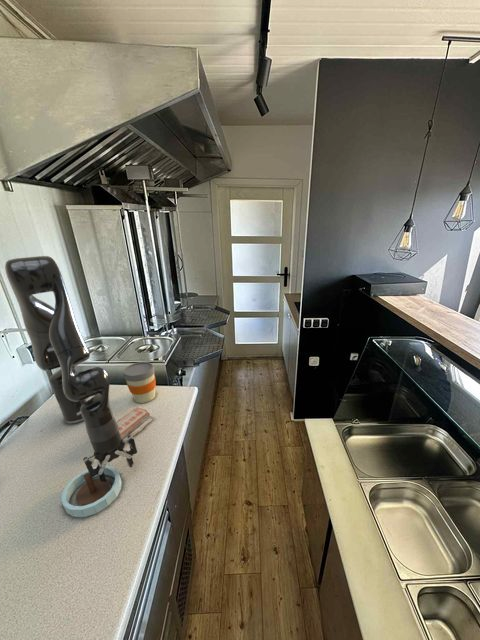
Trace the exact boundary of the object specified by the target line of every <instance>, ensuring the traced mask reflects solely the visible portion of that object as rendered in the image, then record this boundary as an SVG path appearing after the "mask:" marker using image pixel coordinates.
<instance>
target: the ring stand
mask: <svg viewBox="0 0 480 640" xmlns="http://www.w3.org/2000/svg"><path fill="white" fill-rule="evenodd" d="M84 479H85V482H84V483H83V484H82V486H81V487H79V489H78V490H77V492H76V494H75V500H76V502H77V504H78V506H85V505H88V504H91V503H94V502H96V501H97V500H99V499H101V498H102V497H104V496H105V495H106V494H107V493H108V492H109V491H110V490H111V488H112V486H111V484H110V483H111V482H110V481H109V480H108V479H107V481H106V482H104V481H103V482H102V481H101V480H100V478H99V477H97V478H96V477H95V478H92V477H91V475H90V473H87V474H85V475H84Z"/></svg>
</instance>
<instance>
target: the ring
mask: <svg viewBox="0 0 480 640" xmlns="http://www.w3.org/2000/svg"><path fill="white" fill-rule="evenodd" d="M92 467H93V469H96V467H97V465H96V466H92ZM103 472H104V474H105V476H110V477H112V478H114V482H113V484H112V486H111V488H110V491H109V492H108V493H107V494H106V495H105V496H104V497H102V498H101V499H99V500H97V501H96V502H94V503H91V504H88V505H85V506H80V505H73V504H71V503H70V501H71V497H72V495H73V494H74V493H75V492H76V490H77V489H78V488H80V486H81V485H83V484H85V483H86V482H85V479H84V475H85V474H87V473H89V471H88V469H87V468H86V469H85V470H83V471H82V472H79V473H78V474H77V475H75V476H74V477H73V478H72V479H70V481H69V482H68V483H67V485H66V486H65V487H64V489H63V490H62V494H61V497H60V500H61V503H62V506H63V508H64V510H65V512H66V514H67V515H69V516H72V517H74V518H87V517H89V516H92V515H95V514H98V513H100V512H101V511H103V510H105V509H106V508H108V507H109V506H110V505H111V504H112V503H113V502H114V501H115V500H116V499H117V498H118V495H119V494H120V492H121V490H122V479H121V474H120V472H119V471H118V469H117V468H115V467H113V466H111V465H106V467H105V468H104V471H103ZM96 477H97V478H98V477H99V476H98V475H95V476H94V477H92V479H94V478H96Z"/></svg>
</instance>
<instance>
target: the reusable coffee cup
mask: <svg viewBox="0 0 480 640" xmlns="http://www.w3.org/2000/svg"><path fill="white" fill-rule="evenodd" d="M155 370H156V369H155V368H154V365H153V364H152V363H151V362H148V361H139V362H134V363H131V364H129V365H127V366H126V367H125V368H124V369H123V377H124V380H125V381H126V383H125V384H126V387H127V389H128V390H129V393H131V394H132V397H133V399H134V401H135V403H139V404H142V403H143V404H144V403H148V402H151V401H152V400H153V399H155V397H156V386H157V385H156V383H157V382H156V381H157V380H156V376H155Z"/></svg>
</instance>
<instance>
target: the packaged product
mask: <svg viewBox="0 0 480 640" xmlns="http://www.w3.org/2000/svg"><path fill="white" fill-rule="evenodd" d="M150 414H151V413H150V412H149V411H148V410H147V409H144V408H142V407H139V406H136V407H135V408H134V409H133V410H131V411H129V412H128V413H126V414H125V415H124V416H123V417H121V418H120V419H119V420H117V421H116V423H117V425H118V429H119V432H120V436H121V439H122V440H125V439H127V437H128V436H129V435H131V436H132V437H134V436H135V435H137V434H138V433H139V432H141V431H142V430H143V429H144V428H145V427H146V426H147V425H148V424H150V423H152V421H154V420H155V417H154V416H151V415H150Z"/></svg>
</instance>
